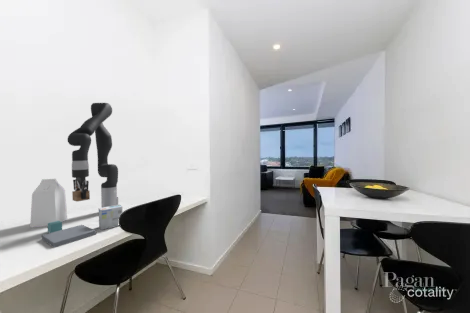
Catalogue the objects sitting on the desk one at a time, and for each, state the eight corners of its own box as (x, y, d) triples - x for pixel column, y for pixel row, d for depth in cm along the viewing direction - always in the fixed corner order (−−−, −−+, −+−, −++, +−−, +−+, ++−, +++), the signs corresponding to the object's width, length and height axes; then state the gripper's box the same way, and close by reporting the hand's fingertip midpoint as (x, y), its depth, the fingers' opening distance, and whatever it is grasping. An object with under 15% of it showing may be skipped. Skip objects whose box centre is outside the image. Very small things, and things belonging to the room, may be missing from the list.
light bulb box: (120, 222, 116) (119, 204, 116) (123, 225, 111) (123, 206, 111) (98, 227, 109) (97, 207, 109) (100, 230, 104) (100, 210, 104)
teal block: (58, 228, 107) (58, 220, 107) (62, 230, 104) (61, 222, 104) (47, 231, 103) (47, 223, 103) (50, 233, 100) (50, 224, 100)
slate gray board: (81, 228, 107) (81, 224, 107) (95, 234, 98) (95, 230, 98) (41, 239, 93) (41, 235, 93) (54, 247, 85) (54, 242, 85)
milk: (67, 218, 123) (66, 177, 123) (56, 225, 112) (55, 179, 112) (44, 220, 120) (43, 178, 120) (30, 227, 109) (29, 180, 109)
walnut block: (85, 198, 116) (84, 189, 116) (89, 199, 112) (89, 190, 112) (72, 200, 111) (72, 191, 110) (76, 201, 107) (76, 192, 107)
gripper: (93, 168, 111) (94, 198, 111) (82, 167, 118) (83, 195, 118) (77, 169, 104) (78, 201, 105) (67, 168, 112) (67, 198, 112)
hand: (81, 198), depth 111 cm, fingers closed on walnut block, 6 cm apart
